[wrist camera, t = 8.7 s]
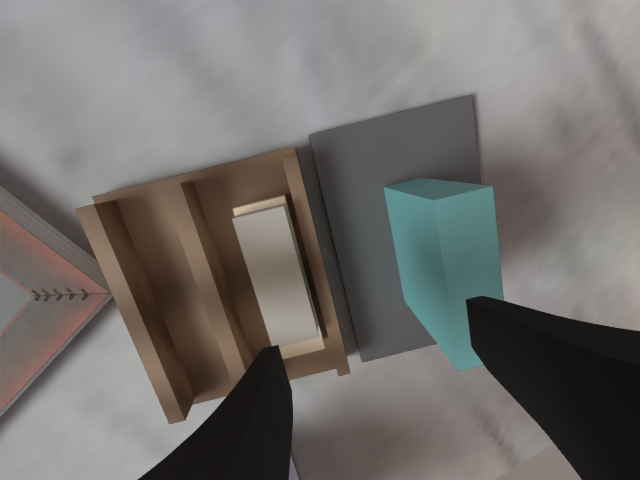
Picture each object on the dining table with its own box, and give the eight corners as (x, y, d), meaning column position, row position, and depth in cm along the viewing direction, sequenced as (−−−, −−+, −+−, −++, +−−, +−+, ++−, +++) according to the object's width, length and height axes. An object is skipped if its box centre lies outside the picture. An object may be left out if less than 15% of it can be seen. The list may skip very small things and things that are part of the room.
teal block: (438, 292, 21) (509, 358, 14) (404, 301, 21) (458, 371, 14) (420, 177, 20) (492, 186, 12) (383, 187, 20) (433, 200, 12)
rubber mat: (493, 325, 23) (496, 328, 22) (361, 359, 23) (362, 362, 22) (468, 96, 19) (471, 94, 19) (308, 135, 19) (308, 134, 18)
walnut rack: (346, 356, 23) (353, 385, 20) (185, 397, 23) (169, 431, 20) (294, 147, 19) (293, 144, 16) (102, 194, 19) (66, 200, 16)
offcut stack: (323, 338, 21) (326, 360, 19) (280, 349, 21) (278, 372, 19) (285, 194, 19) (283, 198, 16) (236, 206, 19) (227, 212, 16)
